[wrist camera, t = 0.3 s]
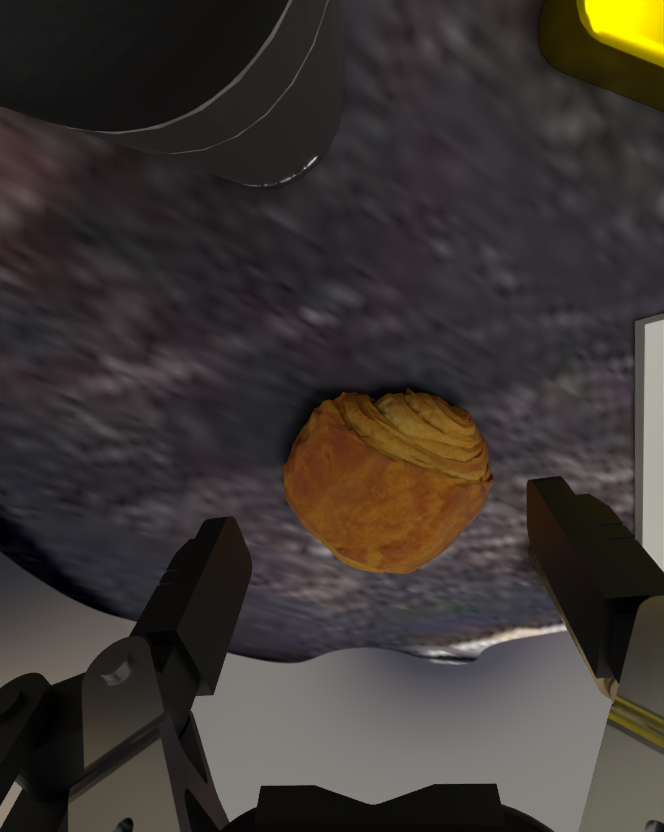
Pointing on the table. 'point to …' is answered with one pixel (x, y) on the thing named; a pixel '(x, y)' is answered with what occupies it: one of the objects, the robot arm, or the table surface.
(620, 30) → the element tile
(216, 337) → the table surface
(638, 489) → the cradle
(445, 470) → the croissant
